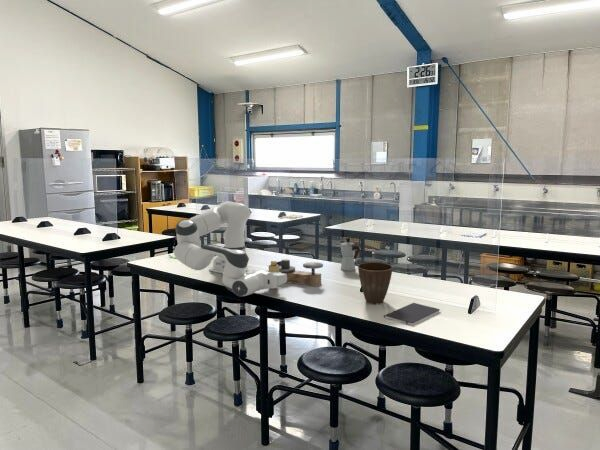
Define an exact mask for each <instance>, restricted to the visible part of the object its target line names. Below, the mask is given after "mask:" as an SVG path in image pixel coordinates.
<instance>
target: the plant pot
mask: <svg viewBox="0 0 600 450" xmlns="http://www.w3.org/2000/svg"><path fill="white" fill-rule="evenodd" d="M357 268H358V275H359V277H358V278H359V281H360V286H361V290H362V293H363V296H364V299H365V302H366V303H367V304H371V305H380V304H383V302H384V301H385V298H386V296H387V293H388V291H389V290H388V289H389V286H390V283H391V280H392V273H393V269H394V268H393V266H392V265H391V264H389V263H385V262H373V261H372V262H364V263H360V264H358V265H357Z"/></svg>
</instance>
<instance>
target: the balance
mask: <svg viewBox="0 0 600 450" xmlns="http://www.w3.org/2000/svg"><path fill="white" fill-rule="evenodd" d="M290 261H291V260H290V259H281V260H280V263H281V265H279V272H282V273H283V274H287V282H286V283H291V284H298V285H306V286H312V287H317V286H319V285H321V284H322V273H321V272H320V273H318V272H316V269H321V268H323V267H324V263H322V262H315V261H314V262H313V261H311V262H310V261H309V262H305V263H303V264H302V267H303V268H305V269H310V270H311V271H305V270H304V271H303V270H296V267H295V266H293V265H291V263H290Z"/></svg>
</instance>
